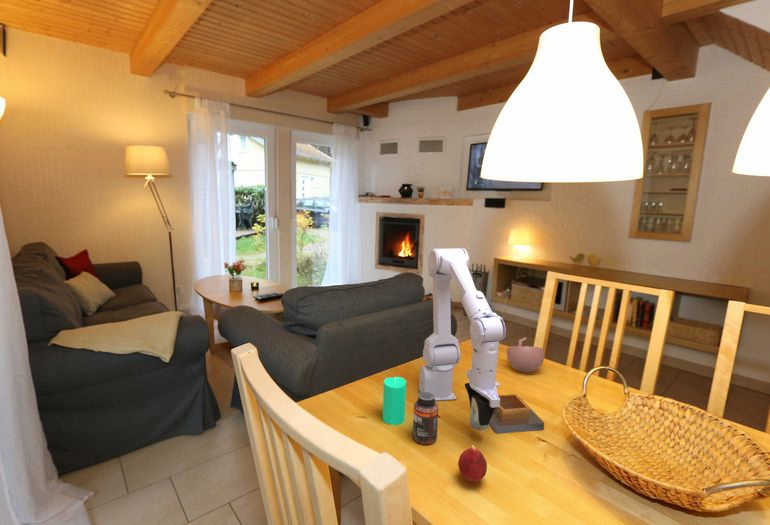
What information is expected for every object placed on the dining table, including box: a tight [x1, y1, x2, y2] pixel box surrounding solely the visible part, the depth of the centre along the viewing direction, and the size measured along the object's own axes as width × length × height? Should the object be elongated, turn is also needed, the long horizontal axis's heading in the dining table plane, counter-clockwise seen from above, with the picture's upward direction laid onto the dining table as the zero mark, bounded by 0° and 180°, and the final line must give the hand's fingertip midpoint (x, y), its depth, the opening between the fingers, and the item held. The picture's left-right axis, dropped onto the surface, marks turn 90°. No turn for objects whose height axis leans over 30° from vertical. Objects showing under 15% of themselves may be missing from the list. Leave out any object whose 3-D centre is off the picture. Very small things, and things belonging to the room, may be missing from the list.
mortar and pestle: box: [506, 336, 545, 373], centre depth 132 cm, size 12×12×11 cm
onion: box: [457, 444, 488, 483], centre depth 80 cm, size 6×6×8 cm
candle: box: [382, 376, 407, 426], centre depth 101 cm, size 6×6×12 cm
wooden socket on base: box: [489, 393, 545, 435], centre depth 104 cm, size 13×13×4 cm
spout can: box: [469, 394, 490, 431], centre depth 93 cm, size 6×4×7 cm
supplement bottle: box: [412, 392, 439, 445], centre depth 93 cm, size 6×6×11 cm
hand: (479, 418), depth 93 cm, fingers closed on spout can, 4 cm apart
